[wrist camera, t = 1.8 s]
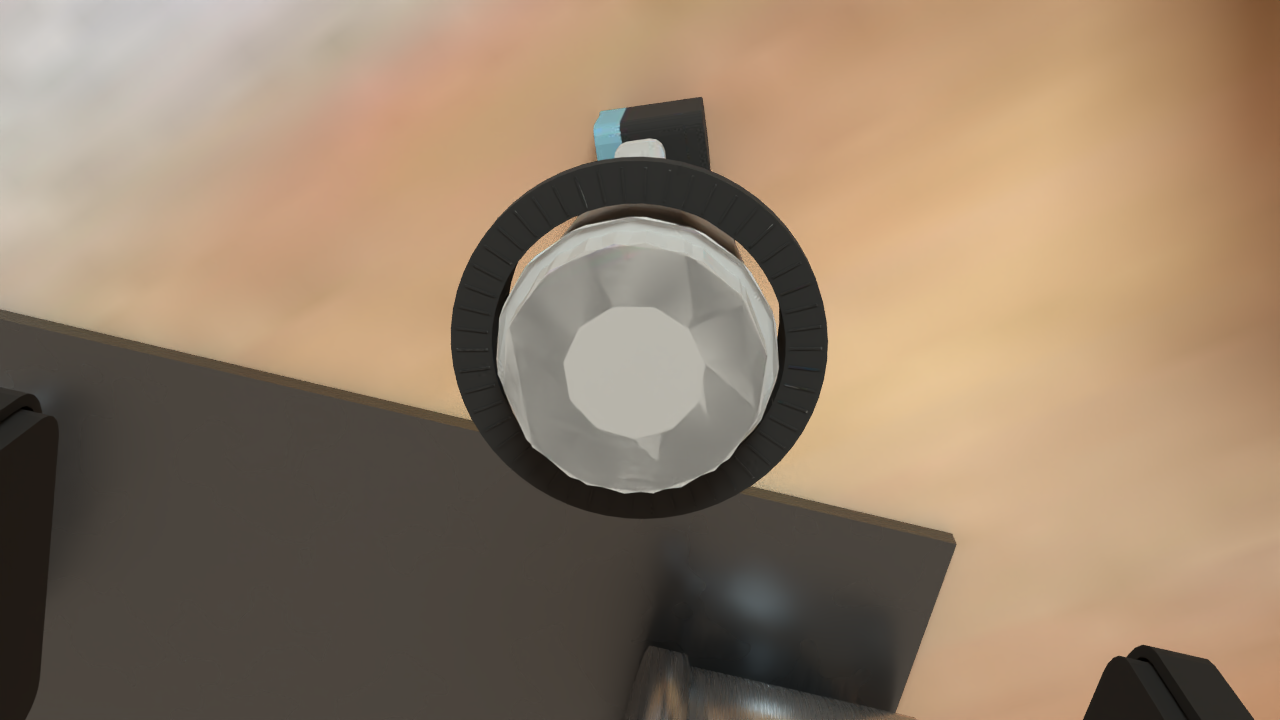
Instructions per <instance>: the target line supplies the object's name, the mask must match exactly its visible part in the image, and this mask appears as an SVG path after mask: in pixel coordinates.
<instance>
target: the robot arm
mask: <svg viewBox="0 0 1280 720" xmlns="http://www.w3.org/2000/svg"><path fill="white" fill-rule="evenodd" d="M58 442H59V427H58V423H57V420H56V419H55V418H54V416H50V415H45V414H42V409H41V405H40V401H39V400H38V398H37V397H36V396H35V395H33V394H29V393H24V392H20V391H15V390H11V389H6V388H2V387H0V720H25V719H26V717H27V716H28V714H29V712H30V710H31V708H32V705H33V703H34V700H35V698H36V694H37V691H38V687H39V681H40V671H41V659H42V646H43V633H44V620H45V608H46V595H47V582H48V569H49V557H50V544H51V531H52V519H53V506H54V493H55V480H56V468H57V455H58ZM1083 720H1254V718H1253V717H1252V716H1251V714H1250V713H1249V712H1248V710H1247V709H1246V708H1245V706H1244V705H1243V703H1242V702H1241V701H1240V699H1239V698H1238V697H1237V695H1236V694H1235V693H1234V691H1233V690H1232V688H1231V687H1230V686H1229V684H1228V683H1227V682H1226V680H1225V679H1224V678H1223V676H1222V675H1221V673H1220V672H1219V671H1218V669H1217V668H1216V667H1215V666H1214V665H1213V664H1212V663H1211V662H1210V661H1209V660H1208V659H1204V658H1199V657H1195V656H1190V655H1186V654H1182V653H1177V652H1173V651H1168V650H1164V649H1159V648H1155V647H1151V646H1146V645H1141V646H1138V647H1136V648H1134V650H1133V651H1132V652H1131V653H1130V654H1129V655H1128V656H1127V658H1126V657H1122V656H1117V657H1115V658H1113V659H1112V660H1111V661H1110V662H1109V663H1108V664H1107V666H1106V668H1105V670H1104V672H1103V674H1102V676H1101V679H1100V681H1099V684H1098V686H1097V688H1096V691H1095V693H1094V695H1093V698H1092V700H1091V702H1090V705H1089V707H1088V709H1087V712H1086V714H1085V716H1084V719H1083Z"/></svg>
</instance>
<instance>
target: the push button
mask: <svg viewBox="0 0 1280 720" xmlns="http://www.w3.org/2000/svg"><path fill="white" fill-rule="evenodd" d="M599 114H600V116H599V118H598V119H597V121H596V123H595V124H594V139H595V147H596V153H597V159H598V161H595V162H591V163H587V164H583V165H580V166H577V167H574V168H571V169H569V170H566V171H563V172H561V173H559V174H557V175H555V176H553V177H551V178H549V179H547V180H545V181H543V182H542V183H540V184H538V185H537V186H535V187H534V188H532V189H531V190H529V191H527V192H526V193H525V194H524V195H522V196H521V197H520V198H519V199H518V200H516V201H515V202H514V203H513V204H511V205H510V206H509V207H508V209H507V210H506V211H505V212H504V213H503V214H502V215H501V216H500V217H499V218H498V219H497V220H496V221H495V223H494V224H493V225H492V226H491V228H490V229H489V230H488V231H487V233H486V234H485V235H484V237H483V238H482V240H481V241H480V243H479V244H478V246H477V248H476V249H475V251H474V252H473V254H472V256H471V258H470V260H469V262H468V264H467V266H466V268H465V270H464V273H463V275H462V278H461V281H460V284H459V287H458V290H457V294H456V298H455V303H454V307H453V315H452V324H451V350H452V359H453V367H454V371H455V375H456V380H457V384H458V387H459V390H460V393H461V396H462V399H463V402H464V404H465V406H466V408H467V410H468V412H469V414H470V417H471V419H472V421H473V422H474V424H475V425H476V427H477V429H478V430H479V432H480V434H481V435H482V437H483V438H484V439H485V441H486V442H487V443H488V445H489V446H490V447H491V449H492V450H493V451H494V452H495V453H496V454H497V455H498V456H499V457H500V459H501V460H502V461H503V462H504V463H505V464H506V465H507V466H508V467H510V468H511V469H512V470H513V471H514V472H515V473H516V474H518V475H519V476H520V477H521V478H523V479H524V480H525V481H527V482H528V483H530V484H531V485H532V486H534V487H535V488H537V489H538V490H540V491H542V492H544V493H545V494H547V495H549V496H551V497H552V498H555V499H557V500H559V501H561V502H564V503H566V504H568V505H570V506H573V507H576V508H579V509H582V510H585V511H588V512H593V513H597V514H601V515H605V516H612V517H619V518H630V519H654V518H666V517H673V516H679V515H684V514H688V513H692V512H696V511H700V510H703V509H705V508H708V507H711V506H714V505H716V504H719V503H721V502H723V501H725V500H727V499H729V498H731V497H733V496H735V495H737V494H739V493H740V492H742V491H744V490H745V489H747V488H748V487H750V486H752V485H753V484H754V483H756V482H757V481H758V480H759V479H761V478H762V477H763V476H765V475H766V474H767V473H768V472H769V471H770V470H771V469H772V468H773V467H775V466H776V465H777V464H778V463H779V462H780V461H781V460H782V458H783V457H784V456H785V455H786V454H787V453H788V451H789V450H790V449H791V448H792V447H793V445H794V444H795V442H796V441H797V439H798V438H799V436H800V435H801V434H802V432H803V430H804V429H805V427H806V425H807V423H808V421H809V419H810V417H811V415H812V413H813V411H814V408H815V406H816V403H817V401H818V398H819V395H820V391H821V388H822V384H823V381H824V375H825V369H826V363H827V348H828V336H827V322H826V316H825V311H824V305H823V301H822V298H821V294H820V291H819V288H818V284H817V281H816V278H815V276H814V273H813V271H812V269H811V266H810V264H809V262H808V259H807V258H806V256H805V254H804V252H803V251H802V249H801V247H800V245H799V244H798V242H797V241H796V239H795V238H794V236H793V235H792V234H791V232H790V231H789V230H788V228H787V227H786V226H785V224H784V223H783V222H782V221H781V220H780V219H779V218H778V217H777V216H776V215H775V214H774V212H773V211H772V210H770V209H769V208H768V207H767V206H766V205H765V204H764V203H763V202H761V201H760V200H759V199H758V198H757V197H755V196H754V195H752V194H751V193H750V192H748V191H747V190H745V189H744V188H743V187H741V186H740V185H738V184H736V183H734V182H732V181H731V180H729V179H727V178H725V177H723V176H721V175H719V174H716V173H714V172H712V171H711V170H710V158H709V146H708V136H707V128H706V120H705V113H704V105H703V99H702V97H698V98H691V99H684V100H677V101H670V102H663V103H656V104H649V105H642V106H635V107H628V108H621V109H614V110H607V111H601V112H600V113H599ZM575 216H578V217H577V219H576V220H575V221H574V222H573V224H572V225H571V226H570V227H569V228H568V230H567V231H566V232H565V233H564V235H563V236H562V237H561V238H560V239H559V240H558V241H557V242H555V243H554V244H552V245H551V246H549V247H548V248H547V249H545V250H544V251H542V252H541V253H539V254H538V255H537V256H535V257H534V258H533V259H532V260H531V262H530V263H529V264H528V265H527V266H526V267H525V268H524V270H523V272H522V273H521V275H520V277H519V279H518V280H517V282H516V284H515V286H514V288H513V289H512V291H511V293H510V295H509V292H510V286H511V281H512V278H513V275H514V271H515V268H516V265H517V263H518V261H519V260H520V259H521V258H522V256H523V255H524V254H525V253H526V251H527V250H528V249H529V248H530V247H531V246H532V245H533V244H534V243H536V242H537V241H538V240H539V239H540V238H541V237H542V236H544V235H545V234H546V233H548V232H549V231H550V230H552V229H553V228H554V227H556V226H558V225H560V224H562V223H563V222H565V221H567V220H569V219H570V218H573V217H575ZM735 240H736V241H737V242H739V243H740V244H741V245H742V246H743V247H744V248H745V249H746V250H747V251H748V252H749V253H750V254H751V256H752V257H753V258H754V259H755V260H756V262H757V263H758V264H759V266H760V267H761V269H762V270H763V271H764V273H765V275H766V276H767V278H768V280H769V282H770V284H771V285H772V287H773V289H774V292H775V294H776V297H777V299H778V302H779V329H778V337H777V333H776V323H775V319H774V315H773V312H772V310H771V308H770V306H769V304H768V302H767V301H766V299H765V297H764V295H763V293H762V291H761V290H760V288H759V286H758V284H757V282H756V281H755V279H754V277H753V275H752V273H751V272H750V271H749V270H748V268H747V267H746V266H745V265H744V262H743V260H742V258H741V255H740V253H739V251H738V248H737V246H736V244H735Z"/></svg>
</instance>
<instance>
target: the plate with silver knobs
mask: <svg viewBox="0 0 1280 720" xmlns="http://www.w3.org/2000/svg"><path fill="white" fill-rule="evenodd" d="M0 387H2V388H6V389H11V390H15V391H20V392H24V393H29V394H33V395H35V396H36V397H37V398H38V400H39V401H40V405H41V409H42V414H45V415H50V416H54V418H55V419H56V420H57V423H58V427H59V442H58V455H57V468H56V480H55V493H54V506H53V519H52V531H51V544H50V557H49V569H48V582H47V595H46V608H45V620H44V633H43V646H42V659H41V671H40V681H39V687H38V691H37V694H36V698H35V700H34V703H33V705H32V708H31V710H30V712H29V714H28V716H27V717H26V719H25V720H917V719H916V718H914V717H910V716H905V715H901V714H897V713H895V712H896V709H897V707H898V704H899V701H900V698H901V696H902V693H903V690H904V687H905V685H906V682H907V679H908V676H909V674H910V671H911V668H912V665H913V663H914V660H915V657H916V654H917V652H918V649H919V646H920V643H921V640H922V638H923V635H924V632H925V629H926V627H927V624H928V621H929V618H930V616H931V613H932V610H933V607H934V605H935V602H936V599H937V596H938V594H939V591H940V588H941V585H942V583H943V580H944V577H945V574H946V572H947V569H948V566H949V563H950V561H951V558H952V555H953V552H954V550H955V547H956V542H955V540H954V537H953V535H952V534H950V533H946V532H942V531H938V530H933V529H929V528H925V527H921V526H916V525H912V524H908V523H904V522H900V521H895V520H891V519H887V518H883V517H878V516H874V515H870V514H866V513H861V512H857V511H853V510H849V509H844V508H840V507H836V506H832V505H827V504H823V503H819V502H815V501H810V500H806V499H802V498H798V497H793V496H789V495H785V494H781V493H776V492H772V491H768V490H764V489H760V488H755V487H751V486H750V487H748V488H747V489H745V490H744V491H742V492H740V493H739V494H737V495H735V496H733V497H731V498H729V499H727V500H725V501H723V502H721V503H719V504H716V505H714V506H711V507H708V508H705V509H703V510H700V511H696V512H692V513H688V514H684V515H679V516H673V517H666V518H654V519H630V518H619V517H612V516H605V515H601V514H597V513H593V512H588V511H585V510H582V509H579V508H576V507H573V506H570V505H568V504H566V503H564V502H561V501H559V500H557V499H555V498H552V497H551V496H549V495H547V494H545V493H544V492H542V491H540V490H538V489H537V488H535V487H534V486H532V485H531V484H530V483H528V482H527V481H525V480H524V479H523V478H521V477H520V476H519V475H518V474H516V473H515V472H514V471H513V470H512V469H511V468H510V467H508V466H507V465H506V464H505V463H504V462H503V461H502V460H501V459H500V457H499V456H498V455H497V454H496V453H495V452H494V451H493V450H492V449H491V447H490V446H489V445H488V443H487V442H486V441H485V439H484V438H483V437H482V435H481V434H480V432H479V430H478V429H477V427H476V425H475V424H474V422H473V421H471V420H467V419H463V418H458V417H454V416H450V415H446V414H441V413H437V412H433V411H429V410H424V409H420V408H416V407H412V406H407V405H403V404H399V403H395V402H390V401H386V400H382V399H378V398H373V397H369V396H365V395H361V394H356V393H352V392H348V391H344V390H339V389H335V388H331V387H327V386H322V385H318V384H314V383H310V382H306V381H301V380H297V379H293V378H289V377H284V376H280V375H276V374H272V373H267V372H263V371H259V370H255V369H250V368H246V367H242V366H238V365H233V364H229V363H225V362H221V361H216V360H212V359H208V358H204V357H199V356H195V355H191V354H187V353H182V352H178V351H174V350H170V349H166V348H161V347H157V346H153V345H149V344H144V343H140V342H136V341H132V340H127V339H123V338H119V337H115V336H110V335H106V334H102V333H98V332H93V331H89V330H85V329H81V328H76V327H72V326H68V325H64V324H59V323H55V322H51V321H47V320H42V319H38V318H34V317H30V316H25V315H21V314H17V313H13V312H9V311H4V310H0Z"/></svg>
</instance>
